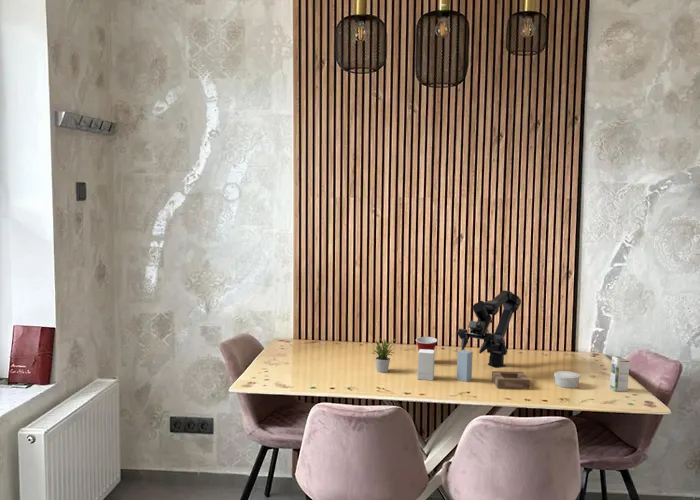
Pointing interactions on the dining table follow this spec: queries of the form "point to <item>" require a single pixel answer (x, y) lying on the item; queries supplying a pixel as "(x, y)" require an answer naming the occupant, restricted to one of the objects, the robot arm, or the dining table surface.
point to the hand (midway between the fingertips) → (470, 351)
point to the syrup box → (619, 373)
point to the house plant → (383, 356)
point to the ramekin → (566, 379)
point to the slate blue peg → (464, 365)
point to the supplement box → (426, 364)
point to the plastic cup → (426, 343)
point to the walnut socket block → (510, 380)
